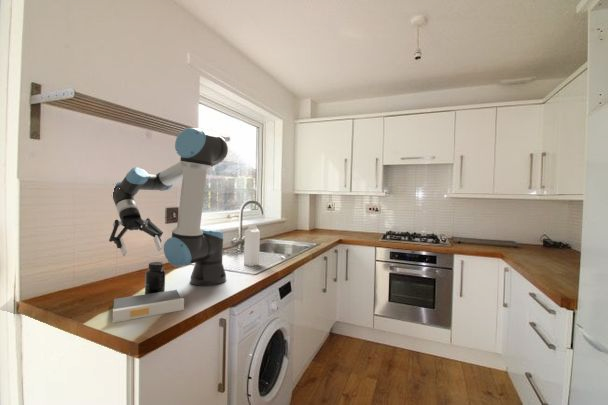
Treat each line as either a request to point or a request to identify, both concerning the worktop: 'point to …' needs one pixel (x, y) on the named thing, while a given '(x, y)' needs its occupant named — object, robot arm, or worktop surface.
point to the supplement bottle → (155, 278)
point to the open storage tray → (146, 305)
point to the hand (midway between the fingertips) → (143, 251)
